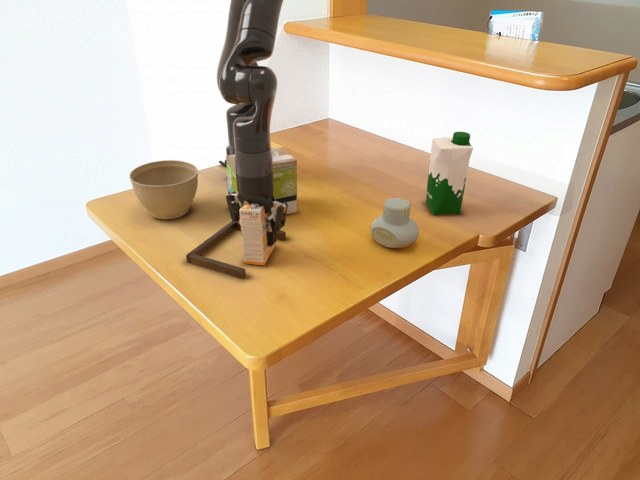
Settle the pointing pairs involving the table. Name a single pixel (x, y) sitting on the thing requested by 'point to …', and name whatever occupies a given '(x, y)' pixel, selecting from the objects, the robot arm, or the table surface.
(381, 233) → the air freshener
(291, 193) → the tea box
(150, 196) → the planter bowl
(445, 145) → the milk carton
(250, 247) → the supplement box
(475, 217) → the table surface
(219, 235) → the bay
